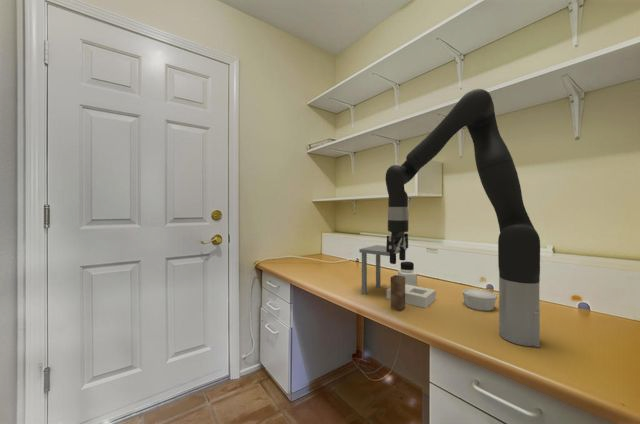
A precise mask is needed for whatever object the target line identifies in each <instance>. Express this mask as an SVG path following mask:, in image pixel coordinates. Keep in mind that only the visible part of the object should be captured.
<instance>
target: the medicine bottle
mask: <svg viewBox="0 0 640 424" xmlns="http://www.w3.org/2000/svg"><path fill="white" fill-rule="evenodd" d="M414 264H415V263H414V262H412V261H408V260H407V261H406V260H404V261H403V260H402V261H401V262H400V270H397V275H398V276H403V277H405V284H407V285H412V286H417V287H418V274H417V272H415V269H414V268H415V267H414V266H415V265H414Z"/></svg>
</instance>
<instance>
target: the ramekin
mask: <svg viewBox="0 0 640 424" xmlns="http://www.w3.org/2000/svg"><path fill="white" fill-rule="evenodd" d="M461 291H462V295H463V302H464V305H465V306H466V307H468V308H470V309H473V310H476V311H481V312H487V311H488V312H490V311H493V310H494V308H495V305H496V300H497V298H498V297H497V294H496V293H493V292H491V291H488V290H484V289H479V288H478V289H477V288H467V289H464V290H461Z"/></svg>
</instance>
